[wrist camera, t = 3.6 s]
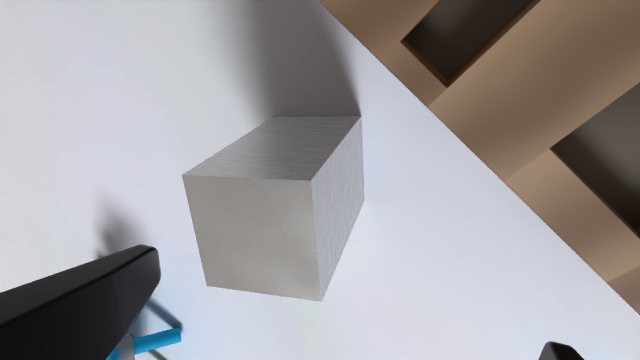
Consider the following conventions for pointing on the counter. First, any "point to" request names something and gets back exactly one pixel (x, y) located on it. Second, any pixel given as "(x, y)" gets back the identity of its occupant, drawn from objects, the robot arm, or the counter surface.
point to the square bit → (279, 205)
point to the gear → (144, 344)
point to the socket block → (532, 105)
